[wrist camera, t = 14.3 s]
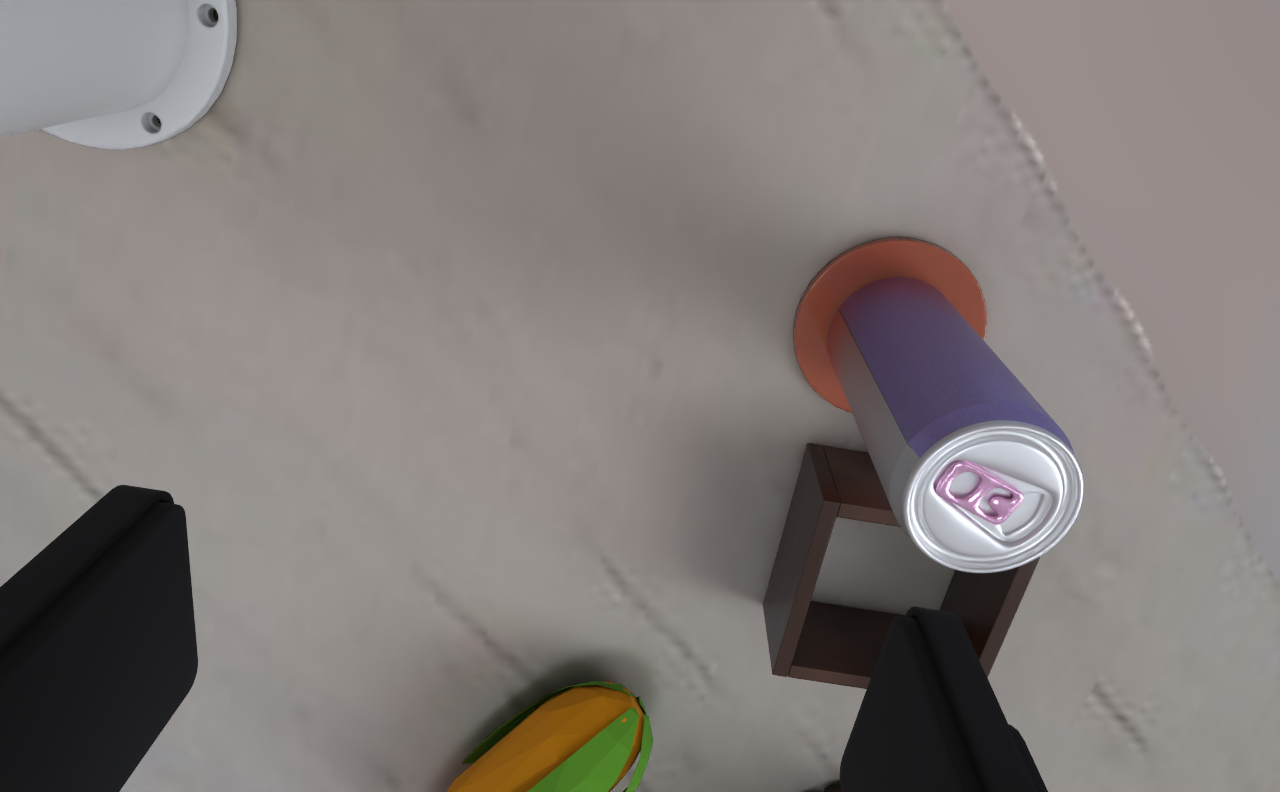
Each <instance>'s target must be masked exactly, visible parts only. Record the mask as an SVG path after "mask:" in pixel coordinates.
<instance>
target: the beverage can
mask: <svg viewBox="0 0 1280 792" xmlns="http://www.w3.org/2000/svg"><path fill="white" fill-rule="evenodd" d="M828 351H829V356H830V359H831V362H832V365H833V367H834V370H835V372H836V375H837V377H838V379H839V382H840V384H841V387H842V389H843V392H844V394H845V396H846V399H847V401H848V404H849V406H850V409H851V411H852V413H853V416H854V418H855V421H856V423H857V426H858V428H859V430H860V433H861V435H862V438H863V440H864V443H865V445H866V447H867V450H868V452H869V455H870V457H871V460H872V462H873V464H874V467H875V469H876V472H877V474H878V477H879V479H880V481H881V484H882V486H883V489H884V491H885V494H886V496H887V498H888V501H889V503H890V506H891V508H892V511H893V513H894V515H895V518H896V520H897V521H898V523H899V525H900V526H901V528H902V529H903V530H904V531H905V533H906V534H907V535H908V536H909V537H910V538H911V539H912V540H913V542H914V543H915V545H916V546H917V547H918V548H919V549H920V550H921V551H922V552H923V553H924V554H925V555H926V556H928V557H929V558H930V559H932V560H933V561H935V562H937V563H939V564H941V565H943V566H945V567H948V568H951V569H954V570H958V571H962V572H969V573H993V572H1000V571H1005V570H1009V569H1013V568H1016V567H1019V566H1022V565H1024V564H1027V563H1029V562H1031V561H1033V560H1035V559H1037V558H1038V557H1040V556H1042V555H1043V554H1045V553H1046V552H1048V551H1049V550H1050V549H1051V548H1053V547H1054V546H1055V545H1056V544H1057V543H1058V542H1059V541H1060V540H1061V539H1062V538H1063V537H1064V536H1065V535H1066V534H1067V532H1068V531H1069V530H1070V528H1071V527H1072V525H1073V523H1074V522H1075V520H1076V518H1077V516H1078V513H1079V511H1080V508H1081V504H1082V500H1083V494H1084V482H1083V475H1082V471H1081V468H1080V465H1079V463H1078V461H1077V459H1076V457H1075V455H1074V452H1073V449H1072V446H1071V444H1070V442H1069V440H1068V438H1067V436H1066V435H1065V434H1064V432H1063V431H1062V430H1061V428H1060V427H1059V426H1058V425H1057V424H1056V423H1055V422H1054V420H1053V419H1052V418H1051V417H1050V416H1049V415H1048V414H1047V412H1046V411H1045V410H1044V409H1043V408H1042V407H1041V406H1040V404H1039V403H1038V402H1037V401H1036V400H1035V399H1034V398H1033V396H1032V395H1031V394H1030V393H1029V392H1028V391H1027V390H1026V388H1025V387H1024V386H1023V385H1022V384H1021V383H1020V382H1019V380H1018V379H1017V378H1016V377H1015V376H1014V375H1013V374H1012V372H1011V371H1010V370H1009V369H1008V368H1007V367H1006V366H1005V364H1004V363H1003V362H1002V361H1001V360H1000V359H999V358H998V356H997V355H996V354H995V353H994V352H993V351H992V350H991V348H990V347H989V346H988V345H987V344H986V343H985V342H984V340H983V339H982V338H981V337H980V336H979V335H978V334H977V332H976V331H975V330H974V329H973V328H972V327H971V326H970V324H969V323H968V322H967V321H966V320H965V319H964V318H963V316H962V315H961V314H960V313H959V312H958V311H957V310H956V308H955V307H954V306H953V305H952V304H951V303H950V301H949V300H948V299H947V298H946V297H945V296H944V295H943V294H942V293H941V292H940V291H939V290H938V289H936V288H935V287H933V286H932V285H930V284H928V283H926V282H924V281H921V280H918V279H914V278H907V277H892V278H885V279H881V280H878V281H875V282H872V283H870V284H868V285H866V286H864V287H862V288H860V289H859V290H857V291H856V292H855V293H853V294H852V295H851V296H850V297H849V298H848V299H847V300H846V301H845V302H844V303H843V304H842V305H841V307H840V308H839V309H838V311H837V313H836V314H835V316H834V318H833V321H832V323H831V326H830V330H829V335H828Z"/></svg>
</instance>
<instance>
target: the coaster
mask: <svg viewBox="0 0 1280 792" xmlns="http://www.w3.org/2000/svg"><path fill="white" fill-rule="evenodd" d="M892 277H907V278H914V279H918V280H921V281H924V282H926V283H928V284H930V285H932V286H933V287H935V288H936V289H938V290H939V291H940V292H941V293H942V294H943V295H944V296H945V297H946V298H947V299H948V300H949V301H950V303H951V304H952V305H953V306H954V307H955V308H956V310H957V311H958V312H959V313H960V314H961V315H962V316H963V318H964V319H965V320H966V321H967V322H968V323H969V324H970V326H971V327H972V328H973V329H974V330H975V331H976V332H977V334H978V335H979V336H980V337H981V338H982V339H983V340H984V338H985V333H986V325H987V313H986V306H985V300H984V297H983V294H982V291H981V289H980V287H979V285H978V282H977V280H976V279H975V277H974V276H973V275H972V273H971V272H970V270H969V269H968V268H967V267H966V266H965V265H964V264H963V263H962V262H961V261H960V260H959V259H958V258H956V257H955V256H954V255H952V254H951V253H950V252H948V251H946V250H945V249H943V248H941V247H939V246H937V245H934V244H932V243H929V242H926V241H921V240H917V239H910V238H887V239H881V240H875V241H872V242H868V243H865V244H862V245H859V246H857V247H855V248H852V249H850V250H848V251H847V252H845V253H843V254H841V255H840V256H838V257H837V258H836V259H834V260H833V261H831V262H830V263H829V264H828V265H827V266H826V267H825V268H824V269H822V270H821V271H820V272H819V274H818V275H817V276H816V277H815V278H814V280H813V281H812V282H811V283H810V285H809V287H808V288H807V290H806V291H805V293H804V295H803V297H802V299H801V301H800V304H799V307H798V310H797V313H796V317H795V322H794V334H793V339H794V349H795V353H796V357H797V360H798V363H799V366H800V368H801V370H802V373H803V374H804V376H805V378H806V379H807V381H808V383H809V384H810V385H811V386H812V388H813V389H814V390H815V391H816V392H817V393H818V394H819V395H820V396H821V397H822V398H824V399H825V400H827V401H828V402H829V403H831V404H832V405H834V406H836V407H838V408H840V409H842V410H845V411H848V412H851V413H852V411H851V409H850V406H849V404H848V401H847V399H846V396H845V394H844V392H843V389H842V387H841V384H840V382H839V379H838V377H837V375H836V372H835V370H834V367H833V365H832V362H831V359H830V356H829V351H828V335H829V330H830V326H831V323H832V321H833V318H834V316H835V314H836V313H837V311H838V309H839V308H840V307H841V305H842V304H843V303H844V302H845V301H846V300H847V299H848V298H849V297H850V296H851V295H852V294H853V293H855V292H856V291H857V290H859V289H860V288H862V287H864V286H866V285H868V284H870V283H872V282H875V281H878V280H881V279H885V278H892Z"/></svg>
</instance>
